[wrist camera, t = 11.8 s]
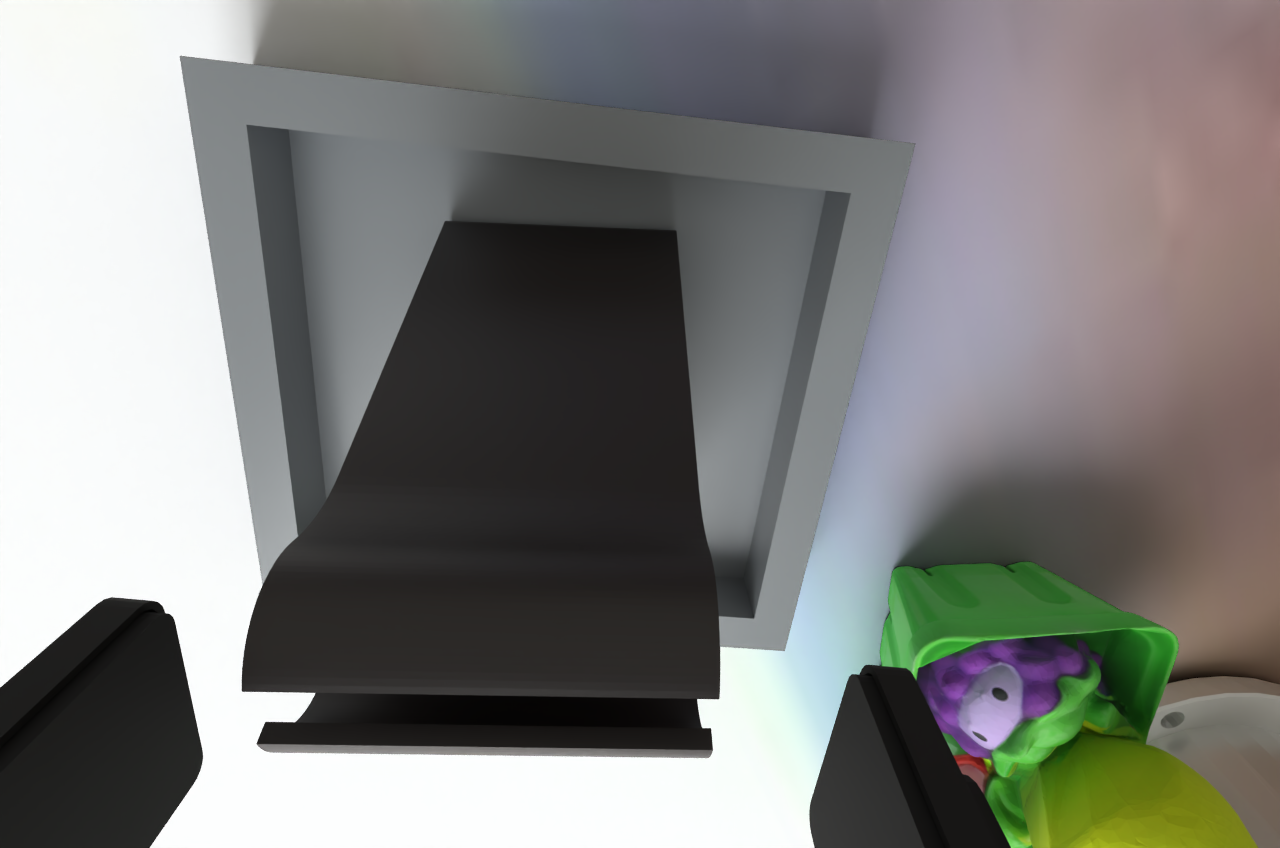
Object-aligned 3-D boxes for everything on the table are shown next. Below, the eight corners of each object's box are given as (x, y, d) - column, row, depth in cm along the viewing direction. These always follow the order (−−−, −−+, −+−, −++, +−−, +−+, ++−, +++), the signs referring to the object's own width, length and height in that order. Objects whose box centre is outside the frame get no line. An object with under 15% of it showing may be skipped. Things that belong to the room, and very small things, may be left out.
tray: (870, 139, 18) (915, 143, 15) (766, 590, 24) (784, 650, 21) (251, 65, 17) (180, 55, 14) (309, 556, 23) (267, 615, 20)
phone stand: (448, 217, 17) (157, 386, 7) (677, 228, 18) (761, 409, 7) (468, 510, 21) (302, 928, 10) (657, 517, 21) (689, 930, 11)
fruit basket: (860, 536, 23) (1045, 868, 13) (1113, 526, 23) (1498, 849, 13) (830, 764, 28) (949, 1138, 18) (1040, 755, 28) (1280, 1124, 18)
